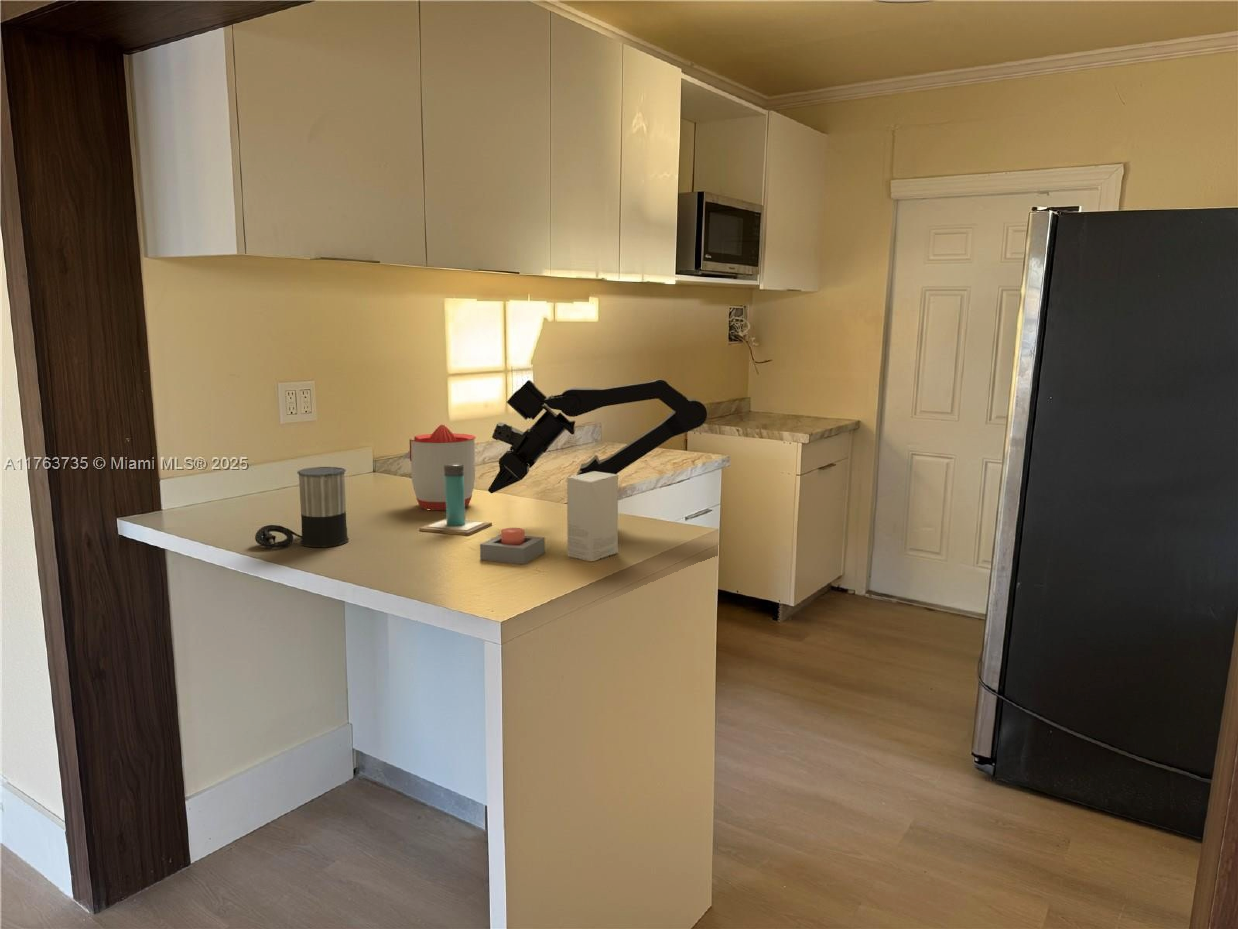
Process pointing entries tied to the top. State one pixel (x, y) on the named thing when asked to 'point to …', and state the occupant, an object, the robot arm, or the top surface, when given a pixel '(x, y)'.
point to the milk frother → (315, 511)
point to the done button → (512, 536)
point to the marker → (454, 494)
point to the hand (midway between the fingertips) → (493, 487)
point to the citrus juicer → (440, 465)
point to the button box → (512, 550)
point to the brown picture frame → (455, 527)
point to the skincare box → (592, 515)
